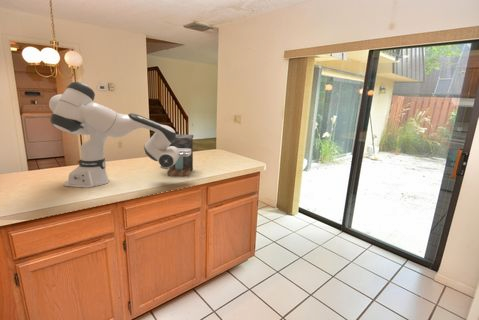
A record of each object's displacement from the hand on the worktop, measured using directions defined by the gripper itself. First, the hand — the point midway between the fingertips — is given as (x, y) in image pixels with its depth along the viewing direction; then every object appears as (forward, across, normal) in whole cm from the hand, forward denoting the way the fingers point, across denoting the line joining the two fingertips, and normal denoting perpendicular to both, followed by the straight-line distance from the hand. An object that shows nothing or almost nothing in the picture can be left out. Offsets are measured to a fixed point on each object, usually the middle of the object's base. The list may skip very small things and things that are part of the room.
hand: (175, 149), depth 154 cm
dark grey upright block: (+12, 0, +19) cm, 23 cm away
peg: (+12, 0, +19) cm, 22 cm away
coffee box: (+29, +10, +20) cm, 37 cm away
